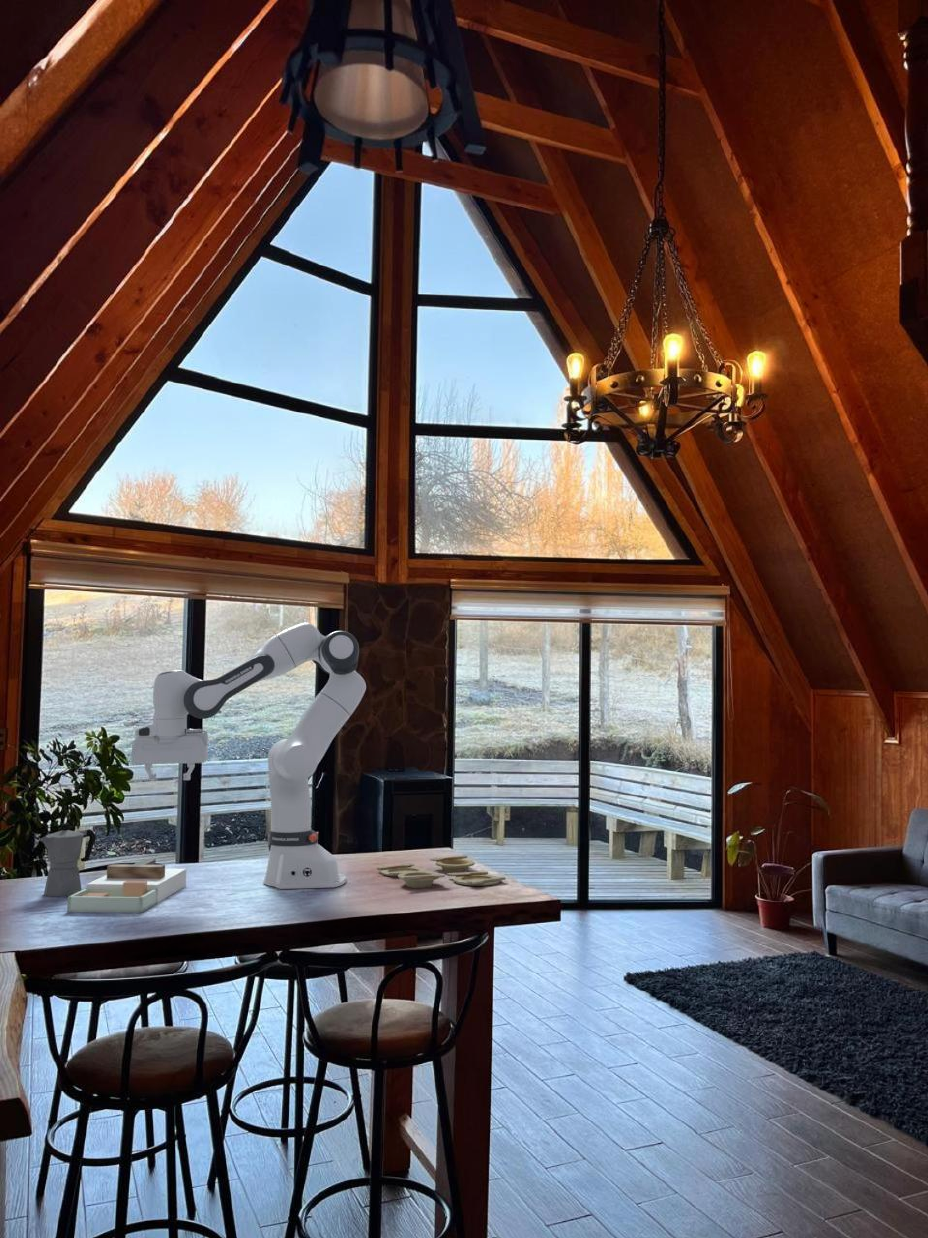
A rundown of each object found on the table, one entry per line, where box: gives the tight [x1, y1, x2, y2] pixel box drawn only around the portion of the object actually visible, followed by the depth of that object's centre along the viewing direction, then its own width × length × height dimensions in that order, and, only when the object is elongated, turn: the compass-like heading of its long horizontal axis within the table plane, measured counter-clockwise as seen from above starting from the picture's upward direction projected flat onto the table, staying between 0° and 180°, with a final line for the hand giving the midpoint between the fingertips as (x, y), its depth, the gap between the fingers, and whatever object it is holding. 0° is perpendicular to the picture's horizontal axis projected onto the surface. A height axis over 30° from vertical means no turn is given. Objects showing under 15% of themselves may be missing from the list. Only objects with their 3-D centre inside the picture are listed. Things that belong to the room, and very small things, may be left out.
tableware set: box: [376, 854, 507, 889], centre depth 263 cm, size 35×29×4 cm
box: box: [66, 887, 158, 914], centre depth 225 cm, size 18×10×4 cm, turn 88°
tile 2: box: [83, 893, 109, 897], centre depth 224 cm, size 5×5×2 cm
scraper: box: [106, 858, 166, 879], centre depth 243 cm, size 14×11×3 cm
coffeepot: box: [39, 822, 97, 898], centre depth 242 cm, size 15×9×18 cm, turn 144°
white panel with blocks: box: [85, 868, 187, 904], centre depth 241 cm, size 18×21×4 cm
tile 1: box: [123, 881, 147, 897], centre depth 228 cm, size 5×5×2 cm
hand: (169, 780), depth 252 cm, fingers open, 8 cm apart
